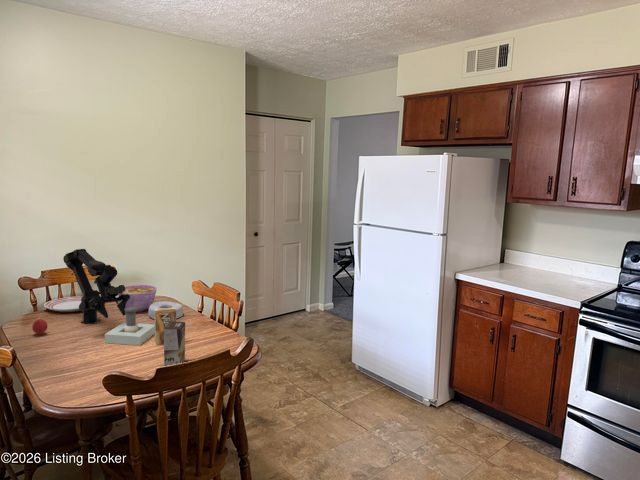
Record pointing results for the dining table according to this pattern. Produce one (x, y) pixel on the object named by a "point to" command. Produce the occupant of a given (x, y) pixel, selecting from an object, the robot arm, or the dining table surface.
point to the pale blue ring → (165, 305)
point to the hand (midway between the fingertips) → (116, 316)
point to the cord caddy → (130, 335)
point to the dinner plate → (64, 304)
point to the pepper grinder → (131, 320)
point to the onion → (39, 326)
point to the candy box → (163, 322)
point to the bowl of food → (140, 296)
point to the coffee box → (174, 343)
